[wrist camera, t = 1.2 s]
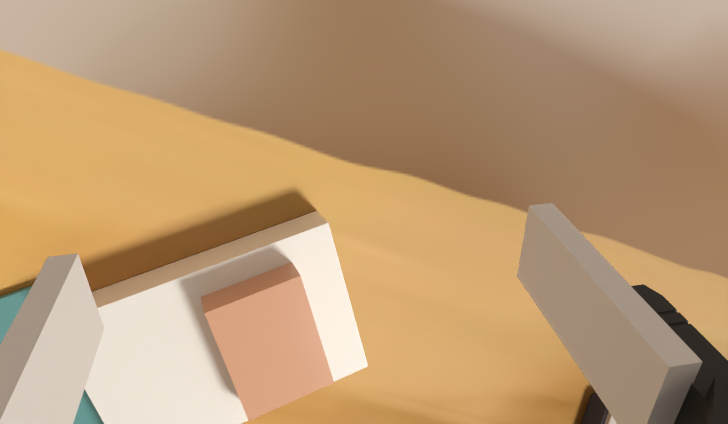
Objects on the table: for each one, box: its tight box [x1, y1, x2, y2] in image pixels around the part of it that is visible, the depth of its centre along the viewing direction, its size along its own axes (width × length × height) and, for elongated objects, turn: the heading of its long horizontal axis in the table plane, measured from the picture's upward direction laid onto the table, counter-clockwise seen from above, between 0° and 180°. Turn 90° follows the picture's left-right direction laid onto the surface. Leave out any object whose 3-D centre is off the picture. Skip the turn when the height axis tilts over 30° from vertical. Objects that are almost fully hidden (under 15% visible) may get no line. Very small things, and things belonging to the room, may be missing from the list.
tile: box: [201, 262, 334, 421], centre depth 41 cm, size 10×7×2 cm
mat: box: [0, 285, 104, 424], centre depth 39 cm, size 18×12×1 cm, turn 13°
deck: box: [85, 211, 368, 424], centre depth 42 cm, size 14×20×3 cm
